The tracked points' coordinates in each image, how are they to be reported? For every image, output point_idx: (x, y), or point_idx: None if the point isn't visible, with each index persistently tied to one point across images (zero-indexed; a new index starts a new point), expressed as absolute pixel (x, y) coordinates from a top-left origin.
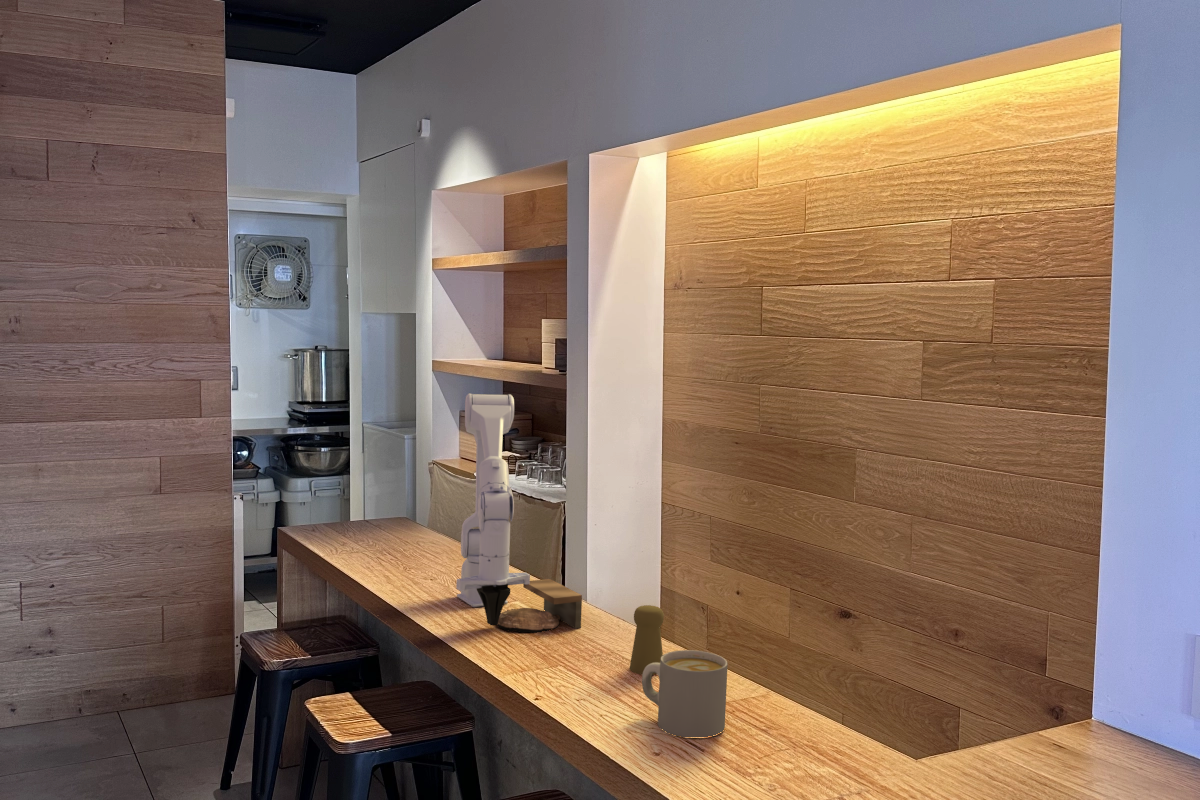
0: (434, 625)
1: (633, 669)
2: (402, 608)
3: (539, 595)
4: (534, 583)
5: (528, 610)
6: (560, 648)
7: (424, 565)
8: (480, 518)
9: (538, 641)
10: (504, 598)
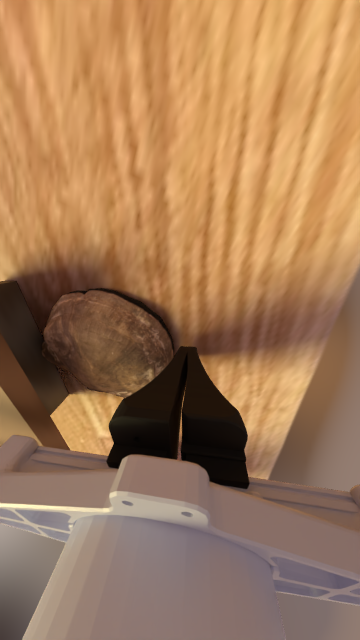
0: (278, 406)
1: None
2: (265, 472)
3: (33, 394)
4: None
5: (91, 360)
6: (65, 92)
7: None
8: None
9: (118, 214)
10: (152, 389)
